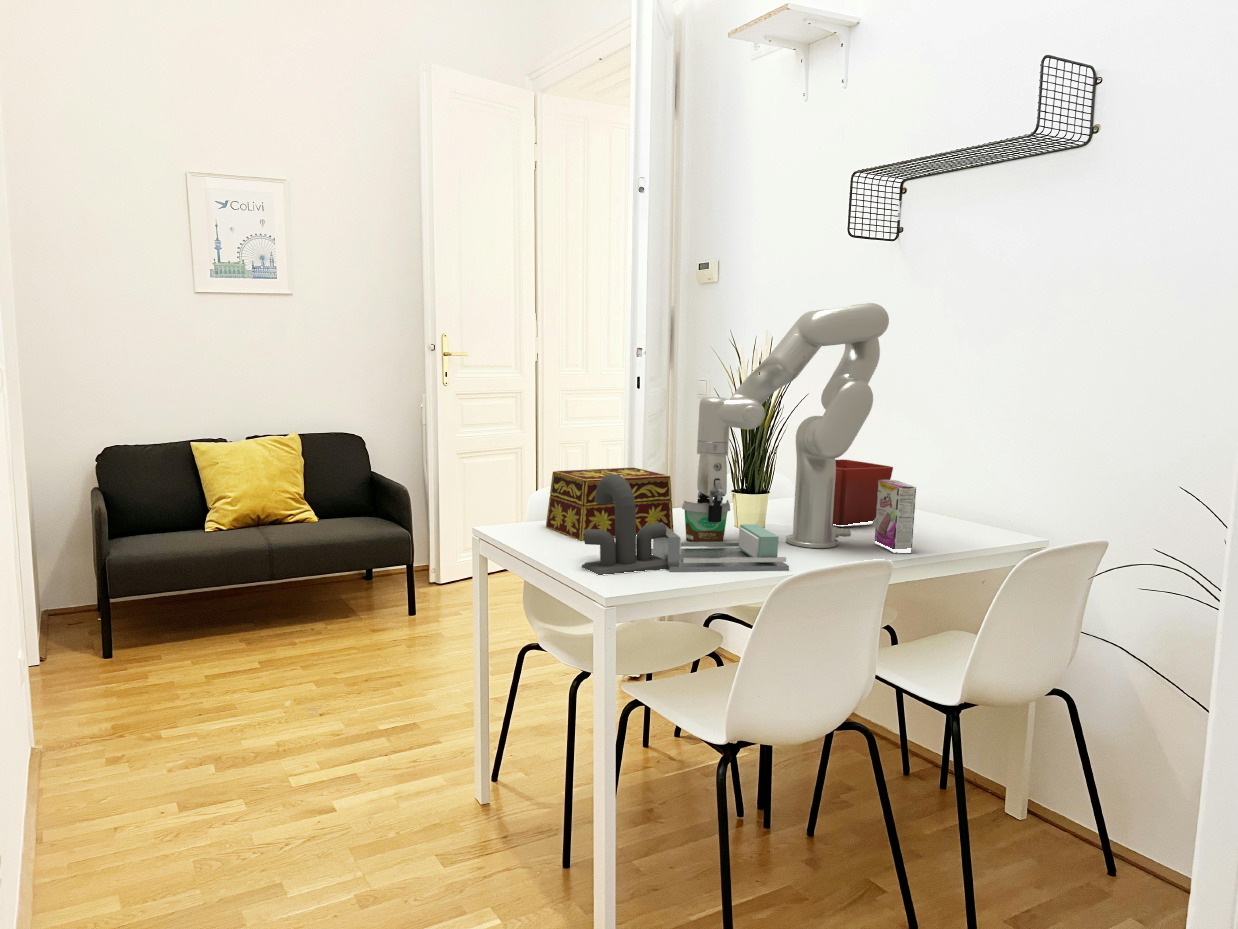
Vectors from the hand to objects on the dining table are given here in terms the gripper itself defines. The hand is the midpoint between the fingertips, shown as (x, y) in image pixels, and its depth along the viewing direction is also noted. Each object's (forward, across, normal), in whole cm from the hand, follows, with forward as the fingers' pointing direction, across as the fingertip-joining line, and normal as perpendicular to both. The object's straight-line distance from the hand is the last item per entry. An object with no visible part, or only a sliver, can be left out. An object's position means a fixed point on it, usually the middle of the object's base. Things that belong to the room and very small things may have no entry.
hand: (708, 518), depth 224 cm
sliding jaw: (+5, -20, -6) cm, 21 cm away
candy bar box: (+6, -9, -44) cm, 46 cm away
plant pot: (+6, +25, -46) cm, 53 cm away
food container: (+6, 0, 0) cm, 6 cm away
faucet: (+7, -21, +26) cm, 35 cm away
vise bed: (+6, -20, +4) cm, 21 cm away
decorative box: (+7, +16, +22) cm, 28 cm away
